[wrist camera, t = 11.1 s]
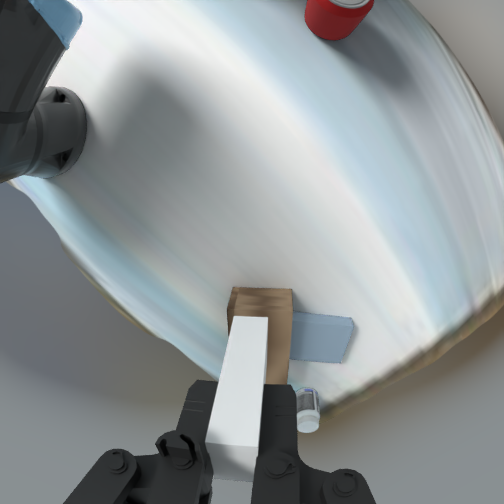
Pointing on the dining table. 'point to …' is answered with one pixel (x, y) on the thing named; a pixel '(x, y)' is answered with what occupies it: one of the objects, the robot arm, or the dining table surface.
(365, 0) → the beverage can
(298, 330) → the panel
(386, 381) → the dining table surface
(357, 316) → the dining table surface
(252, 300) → the shelf
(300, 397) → the pill bottle
